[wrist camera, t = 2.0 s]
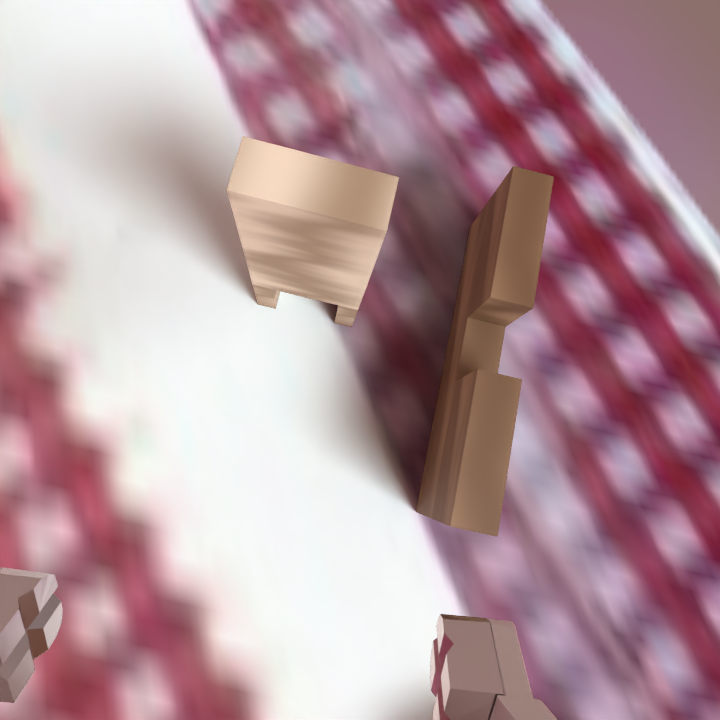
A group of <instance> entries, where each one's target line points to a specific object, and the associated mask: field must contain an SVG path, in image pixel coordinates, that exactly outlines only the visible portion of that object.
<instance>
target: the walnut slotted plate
mask: <svg viewBox="0 0 720 720" xmlns="http://www.w3.org/2000/svg"><path fill="white" fill-rule="evenodd" d="M553 178H554V177H552V176H549V175H545V174H541V173H538V172H534V171H530V170H526V169H523V168H519V167H515V166H513V167H512V169H511V170H510V172H509V173H508V174H507V176H506V177H505V179H504V180H503V182H502V183H501V184H500V186H499V187H498V189H497V190H496V191H495V193H494V194H493V196H492V197H491V198H490V200H489V201H488V203H487V204H486V205H485V207H484V208H483V210H482V211H481V213H480V214H479V215H478V217H477V218H476V220H475V221H474V222H473V224H472V225H471V227H470V229H469V234H468V240H467V245H466V250H465V256H464V261H463V266H462V271H461V277H460V282H459V287H458V292H457V298H456V303H455V308H454V314H453V319H452V324H451V329H450V335H449V340H448V345H447V350H446V356H445V361H444V366H443V372H442V377H441V382H440V387H439V393H438V398H437V403H436V408H435V414H434V419H433V424H432V430H431V435H430V440H429V445H428V451H427V456H426V461H425V466H424V472H423V477H422V482H421V487H420V493H419V498H418V503H417V509H416V512H417V513H420V514H422V515H425V516H427V517H429V518H432V519H434V520H437V521H439V522H441V523H444V524H446V525H449V526H452V527H456V528H461V529H465V530H470V531H474V532H479V533H483V534H488V535H492V536H498V530H499V524H500V517H501V511H502V504H503V498H504V492H505V485H506V479H507V472H508V466H509V460H510V453H511V447H512V440H513V434H514V428H515V421H516V415H517V408H518V402H519V396H520V389H521V383H522V379H518V378H514V377H509V376H505V375H501V374H498V368H499V362H500V356H501V350H502V344H503V338H504V332H505V327H506V326H507V325H509V324H510V323H512V322H513V321H515V320H516V319H518V318H519V317H521V316H522V315H523V314H525V313H526V312H528V311H529V310H531V309H532V308H533V306H534V300H535V293H536V287H537V280H538V274H539V267H540V261H541V255H542V248H543V242H544V235H545V229H546V223H547V216H548V210H549V203H550V197H551V191H552V184H553Z"/></svg>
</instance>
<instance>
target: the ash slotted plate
mask: <svg viewBox="0 0 720 720" xmlns="http://www.w3.org/2000/svg"><path fill="white" fill-rule="evenodd" d="M398 180H399V177H396V176H393V175H389V174H385V173H381V172H377V171H373V170H370V169H366V168H362V167H358V166H354V165H351V164H347V163H343V162H339V161H335V160H331V159H328V158H324V157H320V156H316V155H312V154H309V153H305V152H301V151H297V150H293V149H289V148H286V147H282V146H278V145H274V144H270V143H267V142H263V141H259V140H255V139H251V138H247V137H244V136H243V137H242V141H241V144H240V147H239V151H238V154H237V157H236V161H235V164H234V167H233V170H232V174H231V177H230V180H229V184H228V187H227V193H228V197H229V201H230V204H231V208H232V212H233V215H234V219H235V223H236V226H237V230H238V234H239V237H240V241H241V245H242V248H243V252H244V256H245V259H246V263H247V266H248V270H249V274H250V277H251V281H252V285H253V288H254V292H255V296H256V299H257V303H258V304H259V305H263V306H267V307H271V308H275V309H276V305H277V301H278V298H279V294H280V291H282V292H286V293H290V294H294V295H298V296H302V297H306V298H310V299H315V300H319V301H323V302H327V303H331V304H335V305H338V309H337V313H336V318H335V322H334V323H337V324H341V325H345V326H349V327H352V325H353V322H354V320H355V317H356V314H357V311H358V309H359V306H360V303H361V301H362V298H363V295H364V292H365V290H366V287H367V284H368V281H369V279H370V276H371V273H372V270H373V268H374V265H375V262H376V259H377V257H378V254H379V251H380V248H381V246H382V243H383V240H384V238H385V235H386V232H387V228H388V224H389V219H390V215H391V211H392V206H393V202H394V197H395V193H396V189H397V184H398Z"/></svg>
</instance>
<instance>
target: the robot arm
mask: <svg viewBox="0 0 720 720" xmlns="http://www.w3.org/2000/svg"><path fill="white" fill-rule="evenodd" d="M57 587H58V585H57V582H56V578H55V575H52V574H46V573H39V572H31V571H24V570H16V569H9V568H0V702H10V703H14V702H15V701H16V699H17V698H18V696H19V694H20V693H21V691H22V690H23V688H24V687H25V685H26V684H27V682H28V680H29V679H30V677H31V676H32V674H33V673H34V671H35V664H34V659H35V658H36V657H38V656H39V655H41V654H42V653H44V652H45V651H47V650H48V649H49V648H50V646H51V644H52V643H53V641H54V639H55V638H56V636H57V633H58V630H59V627H60V625H61V622H62V612H63V609H62V604H61V601H60V600H59V599H58V598H57V597H56V596H55V595H54V594H53V592H54V591H55V589H56V588H57ZM436 627H437V638H436V639H435V640H434V641H433V645H432V651H431V662H430V681H431V691H432V692H433V694H434V695H435V697H436V700H435V705H434V709H433V720H557V719H556V717H555V716H554V715H553V714H552V713H551V711H550V710H549V709H548V708H547V707H546V706H545V704H544V703H543V702H542V701H541V700H538V699H533V696H532V692H531V688H530V684H529V680H528V676H527V672H526V668H525V664H524V660H523V656H522V652H521V648H520V644H519V640H518V636H517V632H516V628H515V625H514V624H513V622H512V621H503V620H493V619H486V618H478V617H467V616H456V615H445V614H440V616H439V618H438V622H437V626H436Z"/></svg>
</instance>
